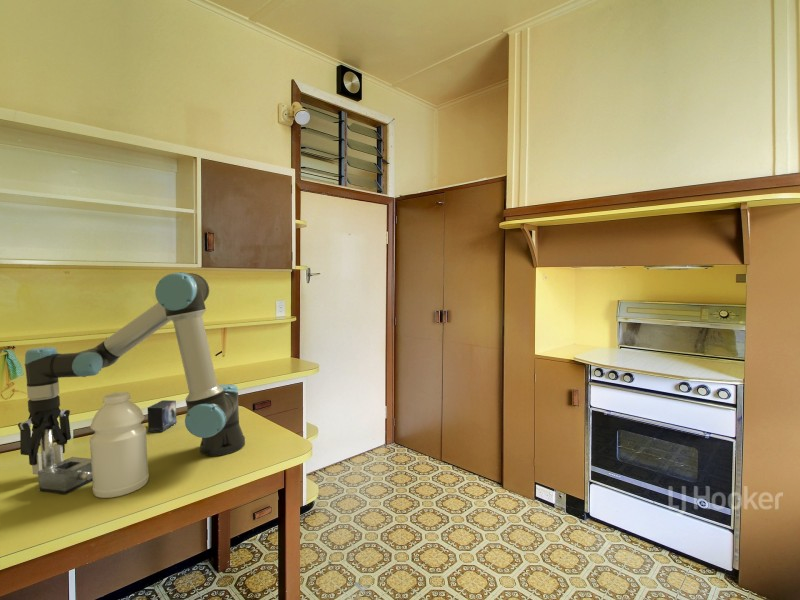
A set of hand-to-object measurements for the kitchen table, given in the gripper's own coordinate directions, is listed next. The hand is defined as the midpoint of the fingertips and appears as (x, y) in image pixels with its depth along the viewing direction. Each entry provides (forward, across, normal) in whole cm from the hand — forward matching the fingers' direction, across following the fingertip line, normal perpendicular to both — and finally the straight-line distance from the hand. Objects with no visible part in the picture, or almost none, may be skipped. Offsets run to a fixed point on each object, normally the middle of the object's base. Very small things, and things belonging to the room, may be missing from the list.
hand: (48, 469), depth 127 cm
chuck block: (+3, +2, +12) cm, 13 cm away
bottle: (+3, 0, +28) cm, 29 cm away
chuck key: (+3, 0, 0) cm, 3 cm away
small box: (+3, -44, +1) cm, 44 cm away
